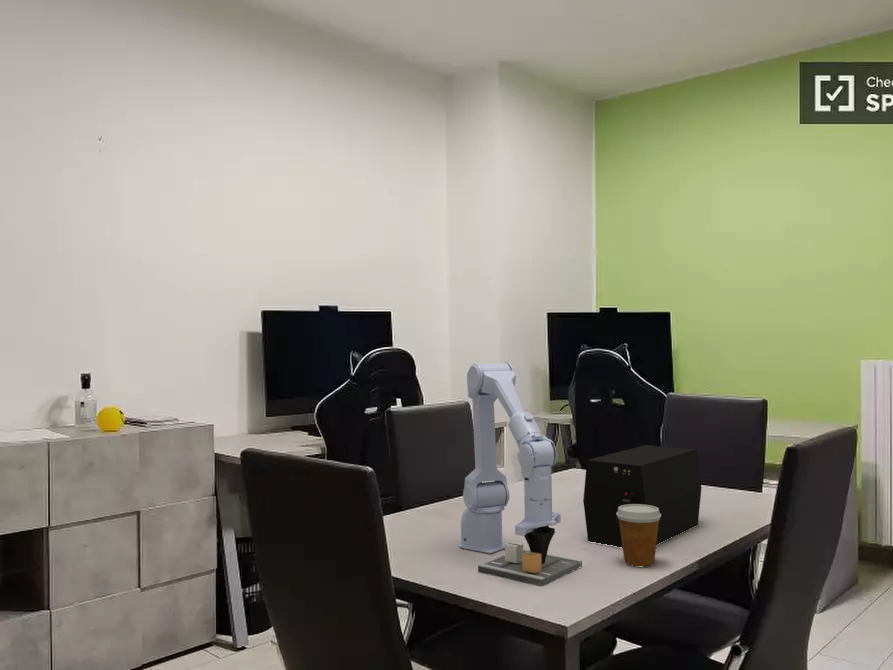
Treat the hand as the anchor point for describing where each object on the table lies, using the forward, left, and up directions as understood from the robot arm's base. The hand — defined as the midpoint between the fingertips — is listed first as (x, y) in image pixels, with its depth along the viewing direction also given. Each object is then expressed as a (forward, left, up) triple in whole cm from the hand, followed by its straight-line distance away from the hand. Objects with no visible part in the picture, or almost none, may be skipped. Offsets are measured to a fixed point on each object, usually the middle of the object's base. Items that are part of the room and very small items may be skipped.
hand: (539, 563), depth 161 cm
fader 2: (0, -3, -1) cm, 3 cm away
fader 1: (-7, +1, -1) cm, 7 cm away
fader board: (-4, +2, -2) cm, 5 cm away
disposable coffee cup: (+13, +20, -3) cm, 24 cm away
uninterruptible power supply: (+3, +44, -3) cm, 44 cm away
